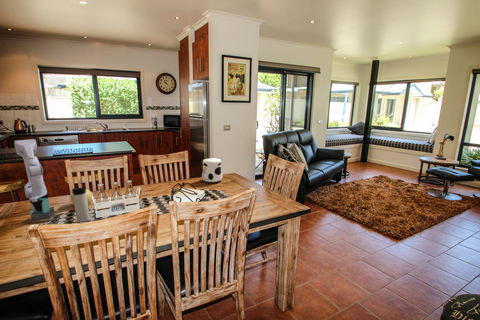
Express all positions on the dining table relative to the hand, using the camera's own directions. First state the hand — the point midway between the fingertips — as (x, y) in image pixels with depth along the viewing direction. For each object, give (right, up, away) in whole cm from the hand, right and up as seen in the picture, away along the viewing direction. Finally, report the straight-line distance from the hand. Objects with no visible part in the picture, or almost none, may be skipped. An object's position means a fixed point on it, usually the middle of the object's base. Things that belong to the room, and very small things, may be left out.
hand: (42, 209), depth 145 cm
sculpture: (+11, -1, +21) cm, 23 cm away
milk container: (+90, +10, +71) cm, 115 cm away
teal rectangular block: (0, -2, +1) cm, 2 cm away
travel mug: (+25, -6, -2) cm, 26 cm away
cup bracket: (0, -4, +1) cm, 4 cm away
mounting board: (0, -5, +1) cm, 6 cm away
